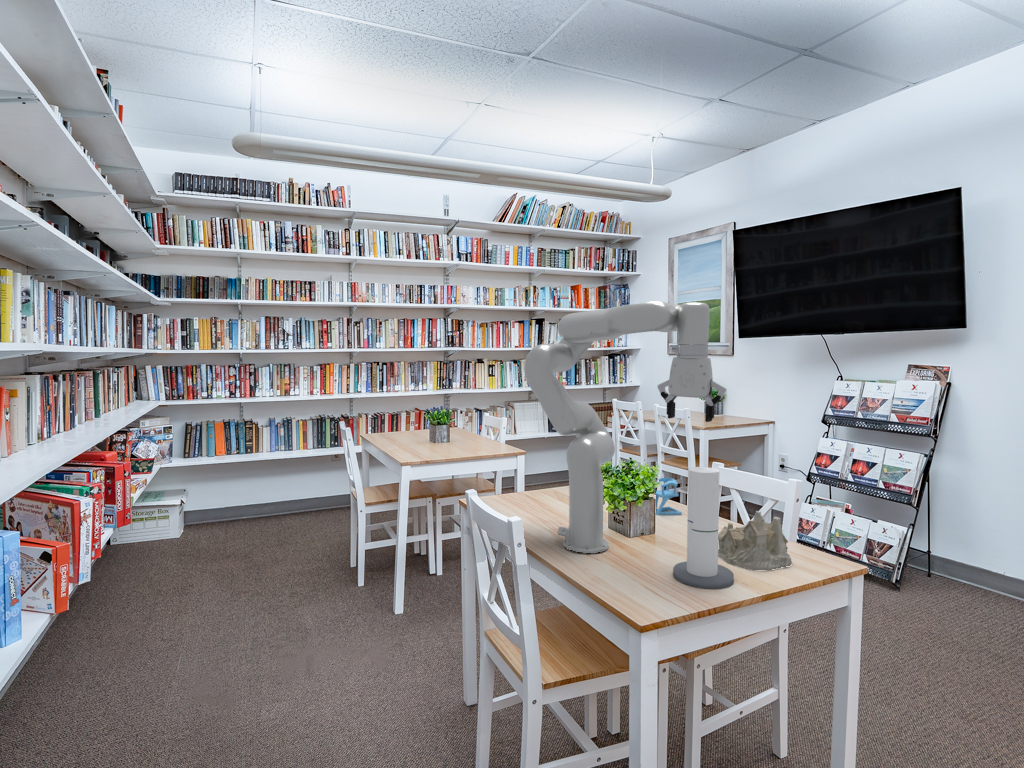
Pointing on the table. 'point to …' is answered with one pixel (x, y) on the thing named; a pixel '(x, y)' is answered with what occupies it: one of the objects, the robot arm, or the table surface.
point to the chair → (666, 497)
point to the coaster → (714, 582)
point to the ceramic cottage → (755, 545)
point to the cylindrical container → (703, 521)
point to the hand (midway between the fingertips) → (689, 419)
